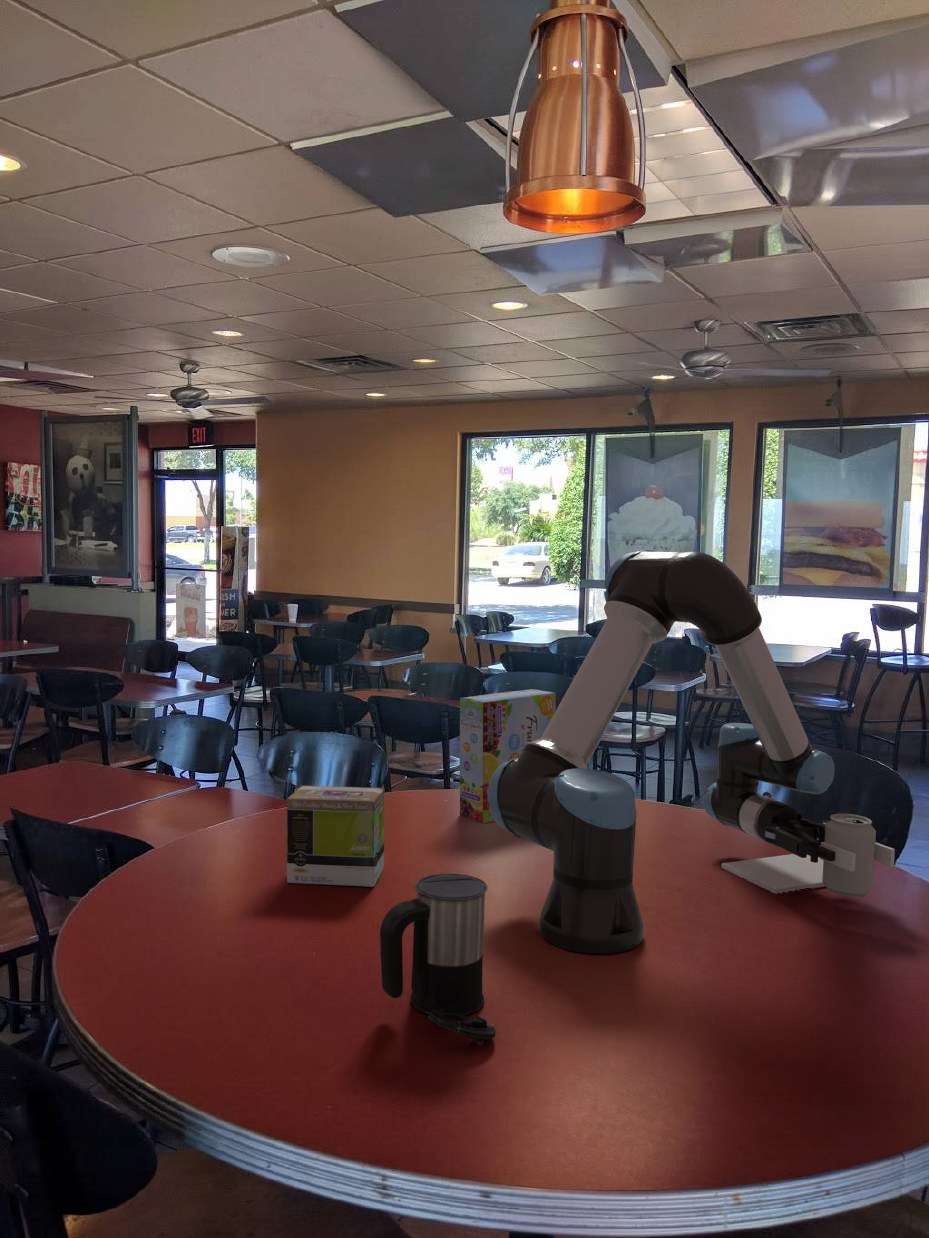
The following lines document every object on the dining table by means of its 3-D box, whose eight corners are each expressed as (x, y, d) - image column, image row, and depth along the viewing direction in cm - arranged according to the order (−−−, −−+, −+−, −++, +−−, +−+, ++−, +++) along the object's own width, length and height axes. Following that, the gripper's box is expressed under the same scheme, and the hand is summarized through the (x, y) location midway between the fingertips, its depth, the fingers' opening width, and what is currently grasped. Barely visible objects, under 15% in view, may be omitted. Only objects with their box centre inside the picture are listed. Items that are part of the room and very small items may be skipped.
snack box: (529, 799, 216) (532, 687, 214) (556, 808, 209) (560, 692, 207) (455, 815, 202) (458, 695, 200) (482, 824, 195) (485, 700, 193)
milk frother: (445, 977, 124) (447, 866, 123) (543, 1017, 114) (546, 897, 113) (366, 1015, 114) (368, 895, 113) (466, 1064, 103) (469, 931, 102)
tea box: (384, 869, 166) (386, 786, 165) (373, 889, 156) (375, 801, 155) (301, 864, 168) (302, 782, 167) (284, 884, 158) (285, 796, 157)
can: (879, 900, 148) (884, 825, 148) (831, 898, 149) (836, 823, 148) (860, 883, 156) (865, 812, 155) (815, 882, 156) (819, 810, 155)
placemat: (775, 893, 158) (775, 889, 158) (721, 867, 171) (721, 863, 171) (865, 880, 166) (865, 875, 166) (807, 856, 179) (807, 852, 179)
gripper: (814, 837, 172) (919, 877, 152) (724, 846, 164) (821, 890, 144) (817, 796, 172) (922, 831, 151) (726, 804, 164) (824, 842, 143)
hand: (873, 860), depth 147 cm, fingers closed on can, 7 cm apart
